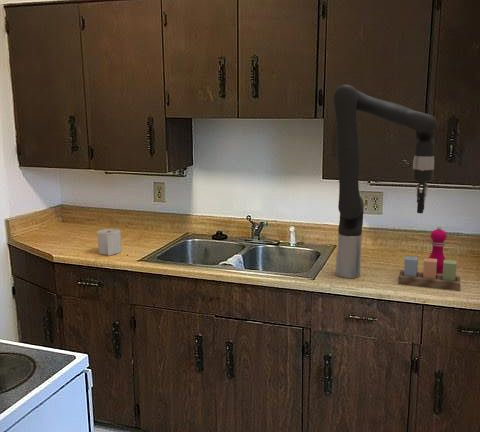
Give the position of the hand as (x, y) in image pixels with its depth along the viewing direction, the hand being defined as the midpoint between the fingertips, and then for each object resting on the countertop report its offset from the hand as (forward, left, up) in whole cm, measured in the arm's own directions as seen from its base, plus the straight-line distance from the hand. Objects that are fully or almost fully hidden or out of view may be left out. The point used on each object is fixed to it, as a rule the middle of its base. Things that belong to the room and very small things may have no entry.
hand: (420, 211), depth 209 cm
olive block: (+12, -4, -25) cm, 28 cm away
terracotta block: (+5, -4, -25) cm, 26 cm away
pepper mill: (+7, +10, -28) cm, 30 cm away
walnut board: (+5, -4, -27) cm, 28 cm away
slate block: (-2, -4, -25) cm, 25 cm away
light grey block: (-137, -9, -28) cm, 140 cm away
